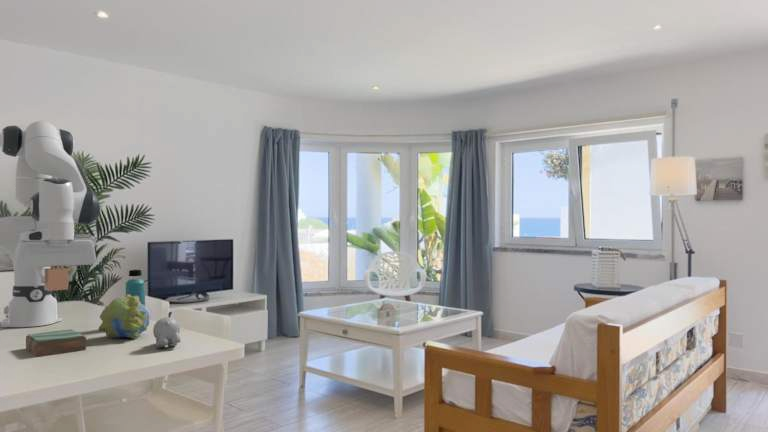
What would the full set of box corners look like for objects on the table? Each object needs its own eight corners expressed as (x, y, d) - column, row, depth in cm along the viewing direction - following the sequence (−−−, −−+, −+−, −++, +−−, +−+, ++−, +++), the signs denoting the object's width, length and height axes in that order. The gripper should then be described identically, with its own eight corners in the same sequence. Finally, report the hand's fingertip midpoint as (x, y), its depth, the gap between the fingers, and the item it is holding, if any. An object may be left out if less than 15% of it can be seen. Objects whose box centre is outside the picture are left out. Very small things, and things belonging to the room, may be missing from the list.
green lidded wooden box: (25, 348, 157) (26, 334, 157) (72, 342, 166) (72, 328, 166) (37, 356, 147) (37, 341, 147) (85, 349, 156) (85, 335, 156)
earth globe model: (146, 285, 181) (96, 290, 172) (155, 305, 168) (101, 312, 160) (146, 323, 184) (96, 330, 176) (154, 346, 171) (101, 354, 163)
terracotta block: (44, 289, 157) (44, 268, 157) (63, 288, 160) (63, 267, 160) (48, 290, 153) (48, 269, 153) (68, 289, 157) (68, 268, 157)
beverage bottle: (140, 328, 188) (140, 270, 188) (121, 328, 188) (121, 270, 188) (148, 324, 194) (149, 268, 195) (130, 324, 194) (130, 268, 195)
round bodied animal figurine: (174, 351, 165) (172, 323, 168) (183, 342, 156) (181, 313, 159) (148, 353, 161) (147, 325, 164) (157, 345, 152) (155, 315, 155)
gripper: (92, 233, 167) (92, 278, 166) (12, 234, 152) (12, 283, 152) (99, 233, 162) (98, 280, 162) (17, 234, 148) (17, 285, 148)
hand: (56, 282), depth 157 cm, fingers closed on terracotta block, 5 cm apart
